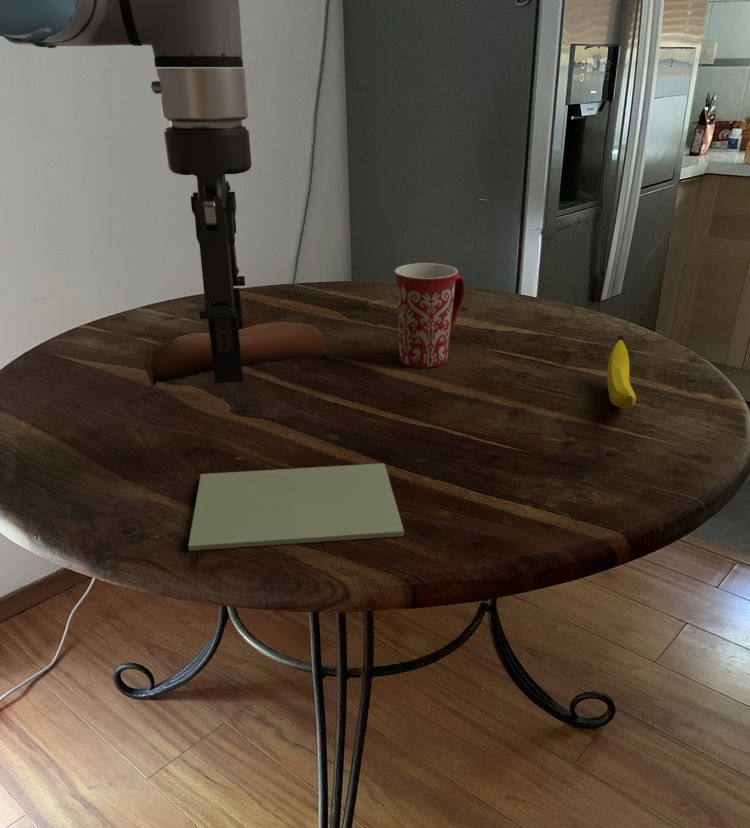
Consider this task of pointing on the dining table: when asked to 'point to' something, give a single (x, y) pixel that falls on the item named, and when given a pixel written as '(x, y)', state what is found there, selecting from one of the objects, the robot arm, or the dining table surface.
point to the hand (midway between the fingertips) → (231, 363)
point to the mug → (427, 311)
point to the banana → (620, 377)
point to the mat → (294, 507)
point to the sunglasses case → (255, 346)
